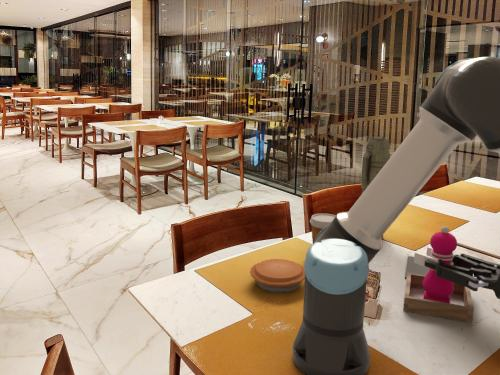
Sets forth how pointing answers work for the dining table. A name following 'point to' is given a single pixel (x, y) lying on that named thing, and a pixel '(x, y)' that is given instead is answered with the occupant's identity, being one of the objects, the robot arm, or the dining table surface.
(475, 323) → the dining table surface
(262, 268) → the pie
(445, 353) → the dining table surface
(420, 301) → the walnut tray
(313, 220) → the disposable coffee cup
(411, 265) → the grey square plate
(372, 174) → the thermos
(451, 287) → the pepper mill
